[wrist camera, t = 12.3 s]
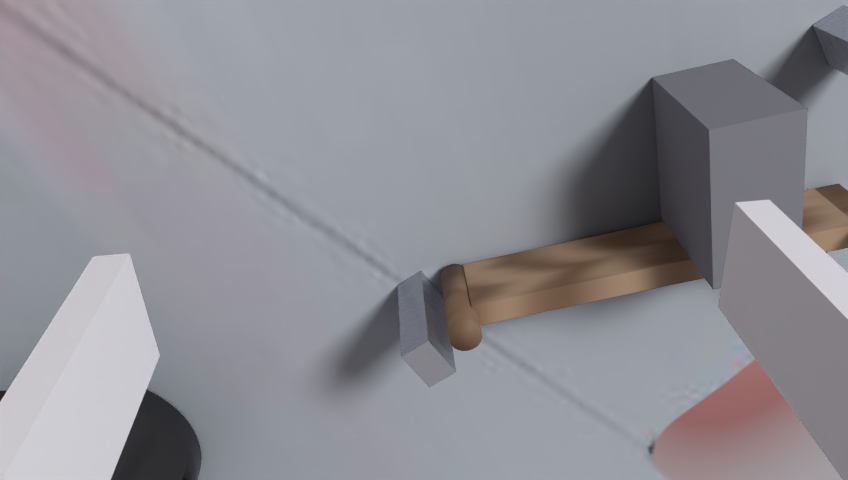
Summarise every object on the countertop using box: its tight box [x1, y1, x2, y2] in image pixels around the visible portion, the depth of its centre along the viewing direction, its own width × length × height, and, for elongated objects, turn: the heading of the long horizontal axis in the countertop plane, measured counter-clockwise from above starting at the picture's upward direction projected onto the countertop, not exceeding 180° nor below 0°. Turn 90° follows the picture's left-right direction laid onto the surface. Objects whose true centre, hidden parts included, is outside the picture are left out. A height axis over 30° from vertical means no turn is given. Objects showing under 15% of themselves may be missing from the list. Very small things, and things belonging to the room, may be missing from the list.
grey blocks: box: [398, 6, 848, 387], centre depth 45 cm, size 33×3×8 cm, turn 125°
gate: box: [440, 184, 848, 351], centre depth 48 cm, size 27×3×7 cm, turn 102°
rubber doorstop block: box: [652, 59, 808, 289], centre depth 44 cm, size 5×10×9 cm, turn 12°
